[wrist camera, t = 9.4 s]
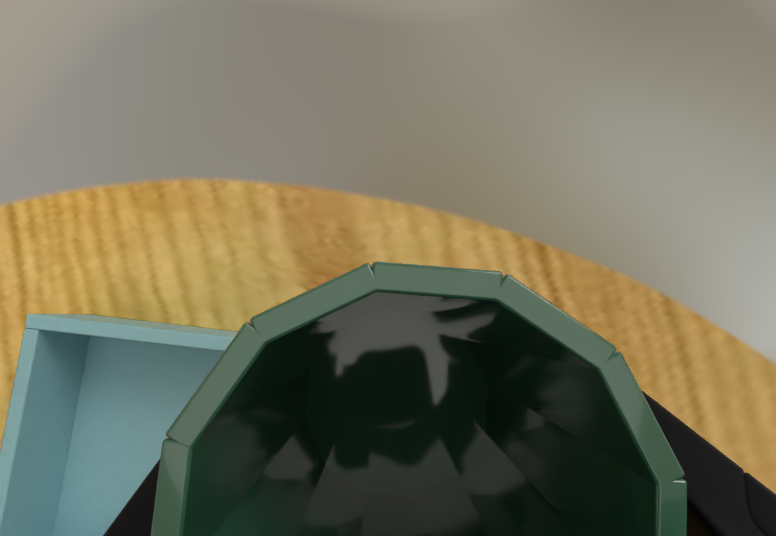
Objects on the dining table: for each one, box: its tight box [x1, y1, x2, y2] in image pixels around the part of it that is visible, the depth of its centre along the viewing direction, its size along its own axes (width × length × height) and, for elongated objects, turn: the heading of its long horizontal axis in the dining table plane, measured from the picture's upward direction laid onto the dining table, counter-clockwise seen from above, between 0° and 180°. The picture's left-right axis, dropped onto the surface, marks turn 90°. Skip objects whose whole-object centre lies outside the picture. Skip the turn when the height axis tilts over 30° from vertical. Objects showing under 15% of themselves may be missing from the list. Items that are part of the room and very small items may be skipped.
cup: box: [150, 262, 687, 536], centre depth 11 cm, size 7×7×10 cm
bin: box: [0, 314, 238, 536], centre depth 21 cm, size 11×11×4 cm
